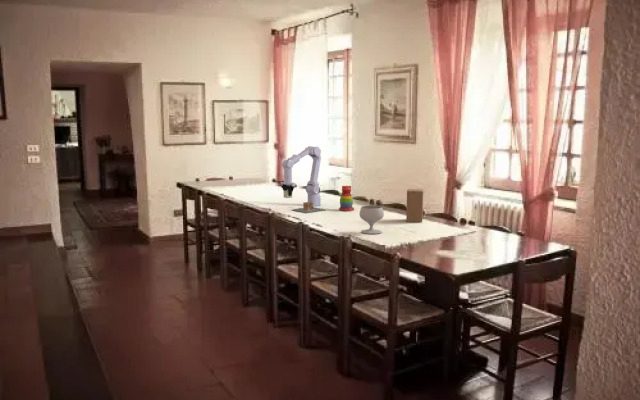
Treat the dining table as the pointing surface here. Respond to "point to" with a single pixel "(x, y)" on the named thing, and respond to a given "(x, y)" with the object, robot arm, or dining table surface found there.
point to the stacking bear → (346, 199)
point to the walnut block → (307, 206)
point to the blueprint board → (308, 210)
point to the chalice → (371, 217)
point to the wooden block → (414, 205)
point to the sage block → (286, 194)
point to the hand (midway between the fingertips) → (288, 195)
